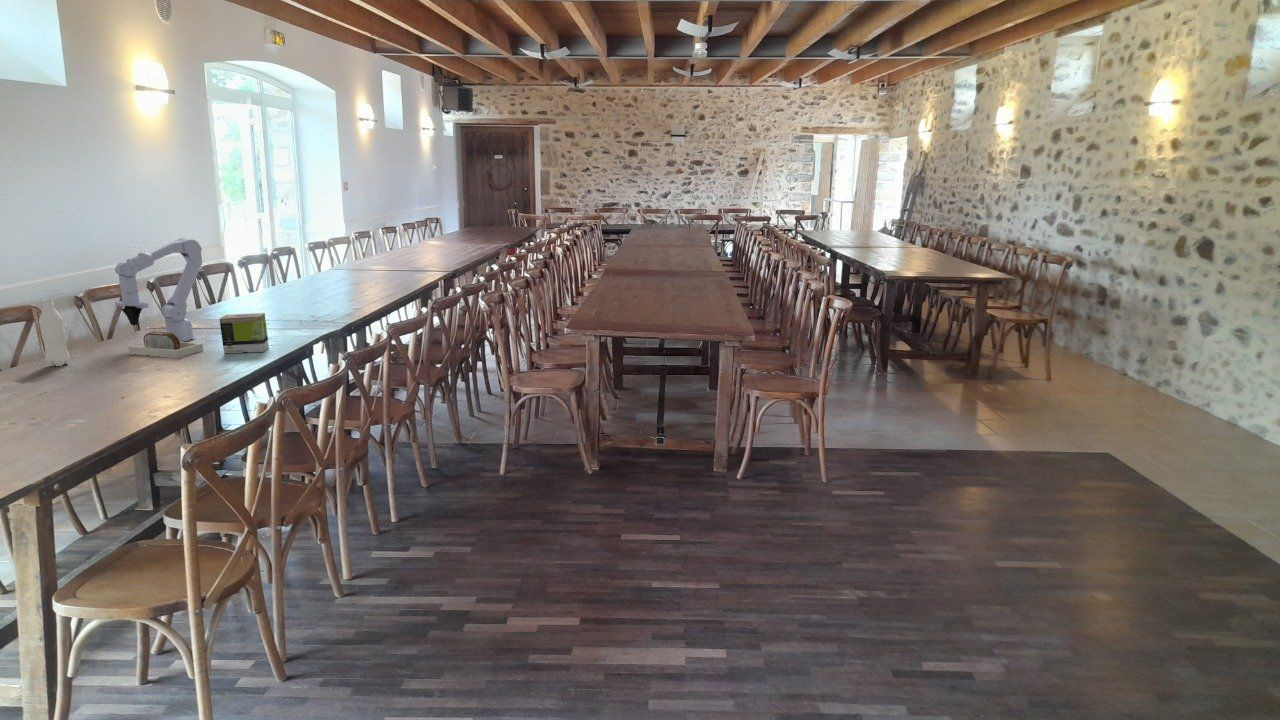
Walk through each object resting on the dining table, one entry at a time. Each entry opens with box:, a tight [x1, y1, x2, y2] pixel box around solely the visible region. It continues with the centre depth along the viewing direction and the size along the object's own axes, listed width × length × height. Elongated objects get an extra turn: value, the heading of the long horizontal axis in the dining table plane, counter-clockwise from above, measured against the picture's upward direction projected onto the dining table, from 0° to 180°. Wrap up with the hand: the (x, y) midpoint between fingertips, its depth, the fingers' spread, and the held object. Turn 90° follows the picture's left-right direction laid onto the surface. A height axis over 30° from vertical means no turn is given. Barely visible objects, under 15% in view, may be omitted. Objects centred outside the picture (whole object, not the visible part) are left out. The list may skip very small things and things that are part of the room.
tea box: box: [218, 312, 270, 355], centre depth 308 cm, size 15×10×15 cm, turn 105°
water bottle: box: [38, 298, 71, 367], centre depth 280 cm, size 7×7×25 cm
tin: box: [143, 331, 180, 350], centre depth 303 cm, size 15×3×8 cm, turn 78°
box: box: [127, 341, 204, 359], centre depth 304 cm, size 13×23×3 cm, turn 76°
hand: (134, 324), depth 310 cm, fingers closed
